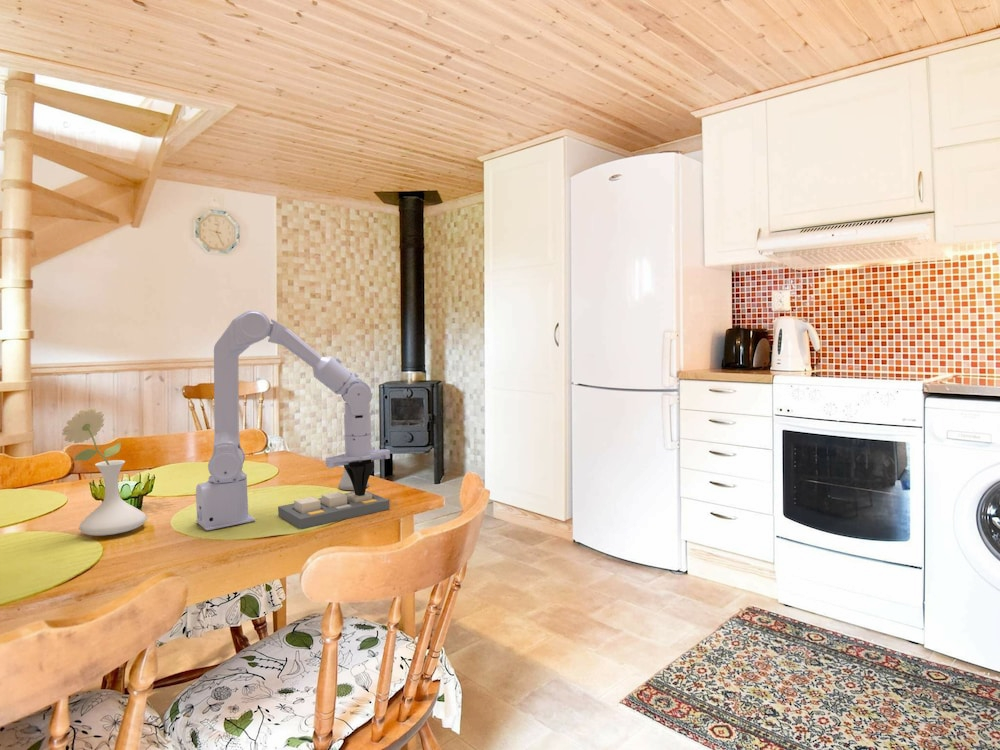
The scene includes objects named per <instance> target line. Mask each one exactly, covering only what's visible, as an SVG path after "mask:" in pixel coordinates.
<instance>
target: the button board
mask: <svg viewBox="0 0 1000 750" xmlns="http://www.w3.org/2000/svg"><path fill="white" fill-rule="evenodd" d="M365 492H367V493H369V494H372V499H369V500H365V501H360V502H352V501H350V500H348V499H347V504H345V505H340V506H336V507H331V508H329V507H327V506H325V505H323V504H322V497H320V498H318V499H319V500H320V504H321V510H316V511H311V512H307V513H300V512H298V511H296V510H295V508H294V502H293V503H289V504H284V505H279V506H277V513H278V516H279V517H280V518H282V519H283V520H285V521H286V522H289V524H292V526H293V525H294V526H295V527H297V529H300V530H303V529H308V528H311V527H316V526H319V525H320V526H321V525H324V524H329V523H330V524H331V523H333V522H339V521H342V520H347V519H350V518H351V519H352V518H356V517H361V516H364V515H370V514H374V513H377V512H383V511H387V510H390V506H391V505H390V499H388V498H385V497H383V496H380V495H377V494H375V493H372V492H370V491H368V490H365ZM353 493H355V492H354V491H352V492H346V493H344V494H345V495H348V494H353Z"/></svg>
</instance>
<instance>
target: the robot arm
mask: <svg viewBox="0 0 1000 750" xmlns="http://www.w3.org/2000/svg"><path fill="white" fill-rule="evenodd" d="M267 337H269V338H268V339H267V342H268V343H272V344H277V345H281V346H283V347H285V348H286V349H287V350H288V351H290V352H291V353H292V354H293V355H295V356H297V357H298V358H299V359H300V360H302V361H304V362H305V363H306V364H307V365H309V366H310V367H312V369H313V370H312V371H313V377H314V379H316V380H317V381H319V382H320V383H322V384H323V385H324V386H325V387H327V388H328V389H329V390H330V391H332V392H333V393H334V394H336V395H337V396H339V395H341V399H342V400H343V401H344V414H343V420H344V421H343V424H344V425H343V426H344V427H343V428H344V453H343V454H338V455H335V456H331V457H326V458H325V468H328V469H333V468H335V467H340V466H343V468H344V469H345V470H346V471H347V473H348V475H349V477H350V479H351V482H352V484H353V488H354V490H353V492H355V495H358V496H362V495H365V491H367V490H366V489H367V487H366V486H367V482H368V483H369V479H370V476H371V474H372V472H373V470H374V468H375V463H374V462H373V461H377V460H388V459H390V458H391V453H390V452H391V450H390V449H387V448H386V449H385V448H384V449H374V450H373V449H372V448H373V447H372V446H373V445H372V417H371V416H372V415H371V411H370V409H371V404H370V402H371V401H372V399H373V393H372V389H371V387H370V386H369V385H368V384H367V383H366V382H365V381H363V380H362V379H360V378H359V374H357V373H356V372H354V373H353V372H352V371H351V370H350V369H348V368H347V367H345V366H344V365H343V364H342V362H343V361H342V360H341V359H340V358H339V357H333V356H331V355H329V356H322V355H321V354H319V353H318V352H317V351H316V350H314V349H313V348H312V347H311V346H310V345H309V344H308V343H307V342H305V341H304V340H303V339H301V338H300V337H299V336H298V335H296V333H294V332H293V331H292V330H290V329H289V328H288V327H287V326H285V325H284V324H282V323H280V322H278V321H277V320H275V319H273V318H270V319H269V317H268V315H266V314H265V313H264V312H262V311H260V310H257V309H249V310H247V311H244V312H242V313H240V314H238V316H237V317H234V318H233V320H232V321H231V322H230V323H229V325H228V327H227V328H226V329H225V330H224V332H223V333H222V334H221V336H220V337H219V338H218V340H217V341H216V342H215V344H214V347H213V385H214V386H213V389H214V390H213V393H214V394H213V397H214V398H213V400H214V402H213V403H214V406H213V407H214V408H213V409H214V410H213V411H214V416H213V417H214V418H213V419H214V436H213V437H214V438H213V445H212V447H213V450H212V455H211V457H210V458H209V461H208V465H207V467H208V468H207V469H208V472H209V474H210V476H208V478H207V479H208V480H207V481H205V482H202V483H201V482H200V483H198V484H197V485H196V489H195V501H196V502H195V505H196V523H197V524H198V525H199V526H201V527H202V528H203V529H204V530H205V531H212V530H217V529H221V528H227V527H230V526H231V527H232V526H236V525H242V524H247V523H252V522H256V518H255V517H254V516H252V515H251V514H249V504H248V500H249V499H248V478H247V473H245V472H244V471H243V468H244V467H243V466H244V462H245V459H246V457H245V452H244V450H243V448H242V447H241V444H240V443H241V442H240V441H241V438H240V427H239V426H240V421H239V420H240V405H239V404H240V403H239V402H240V399H239V398H240V394H239V387H240V386H239V381H240V379H239V377H240V376H239V373H240V372H239V357H240V355H242V354H243V353H244V352H245V351H246V350H247V349H248V348H250V346H251V345H254V344H256V343H259V342H261V341H262V340H264V339H266V338H267Z"/></svg>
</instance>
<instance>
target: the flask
mask: <svg viewBox="0 0 1000 750" xmlns="http://www.w3.org/2000/svg"><path fill="white" fill-rule="evenodd" d="M369 486H370V483H369V481H368V482H367V486H366V488H368V487H369ZM338 489H340V490H343V491H354V488H353V484H352V482H351V479H350V477H349V475H348V473H347V471H346V470H345V468H344V470H343V473H342V476H341V477H340V482H339V483H338Z"/></svg>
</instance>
